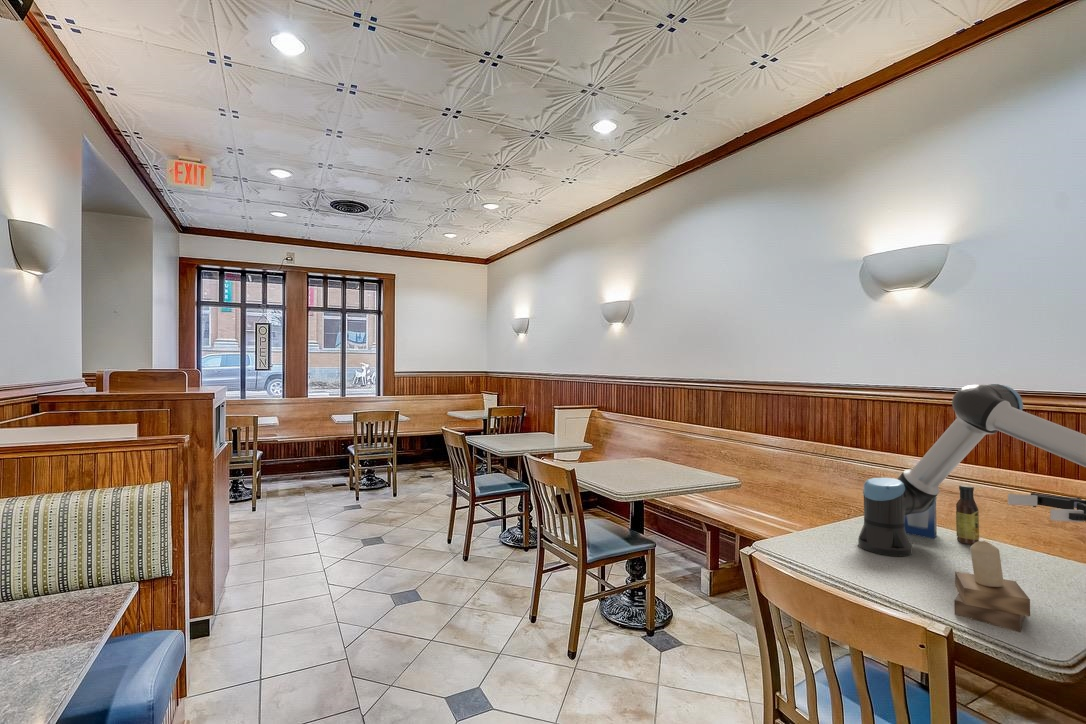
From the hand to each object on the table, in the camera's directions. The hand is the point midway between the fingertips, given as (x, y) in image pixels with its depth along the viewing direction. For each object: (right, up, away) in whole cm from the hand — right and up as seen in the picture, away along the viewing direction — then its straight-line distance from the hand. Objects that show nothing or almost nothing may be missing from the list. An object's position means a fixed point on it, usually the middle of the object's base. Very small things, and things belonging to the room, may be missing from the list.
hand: (1028, 506), depth 129 cm
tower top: (-12, -23, -3) cm, 26 cm away
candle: (-12, -19, -2) cm, 22 cm away
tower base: (-12, -27, -3) cm, 30 cm away
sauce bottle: (+27, -28, +51) cm, 64 cm away
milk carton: (+17, -28, +61) cm, 69 cm away
